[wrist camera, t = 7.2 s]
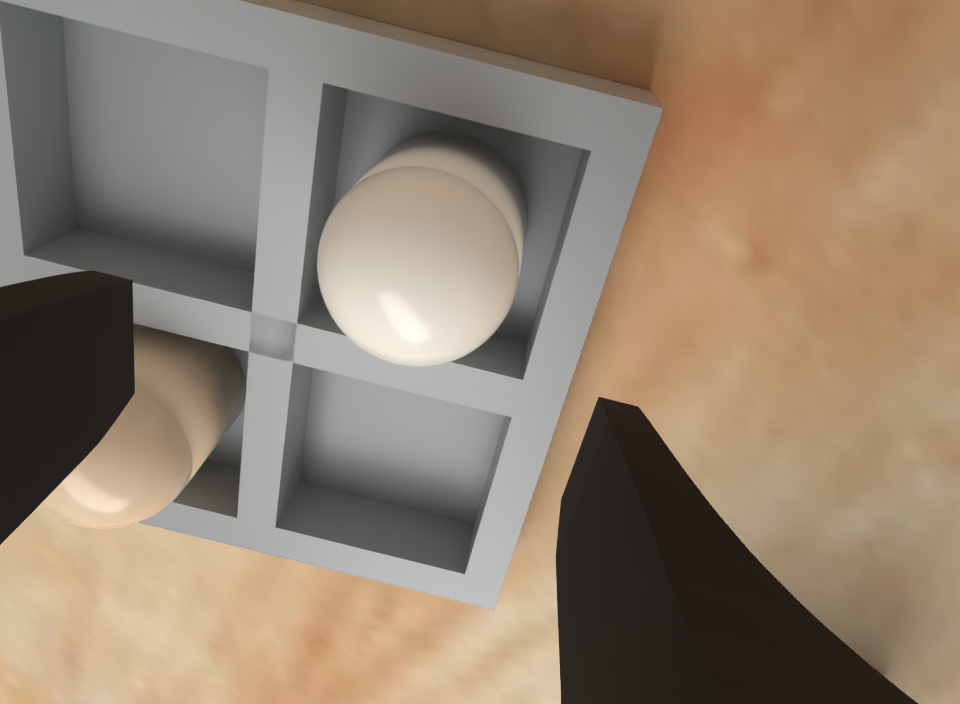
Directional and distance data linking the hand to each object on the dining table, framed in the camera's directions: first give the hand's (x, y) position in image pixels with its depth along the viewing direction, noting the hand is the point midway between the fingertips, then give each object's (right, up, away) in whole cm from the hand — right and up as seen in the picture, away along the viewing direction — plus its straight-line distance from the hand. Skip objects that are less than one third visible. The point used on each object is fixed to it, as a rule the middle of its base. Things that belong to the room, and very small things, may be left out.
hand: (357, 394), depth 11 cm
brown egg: (-8, 0, +11) cm, 14 cm away
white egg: (+1, +4, +8) cm, 9 cm away
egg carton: (-3, +2, +10) cm, 11 cm away
